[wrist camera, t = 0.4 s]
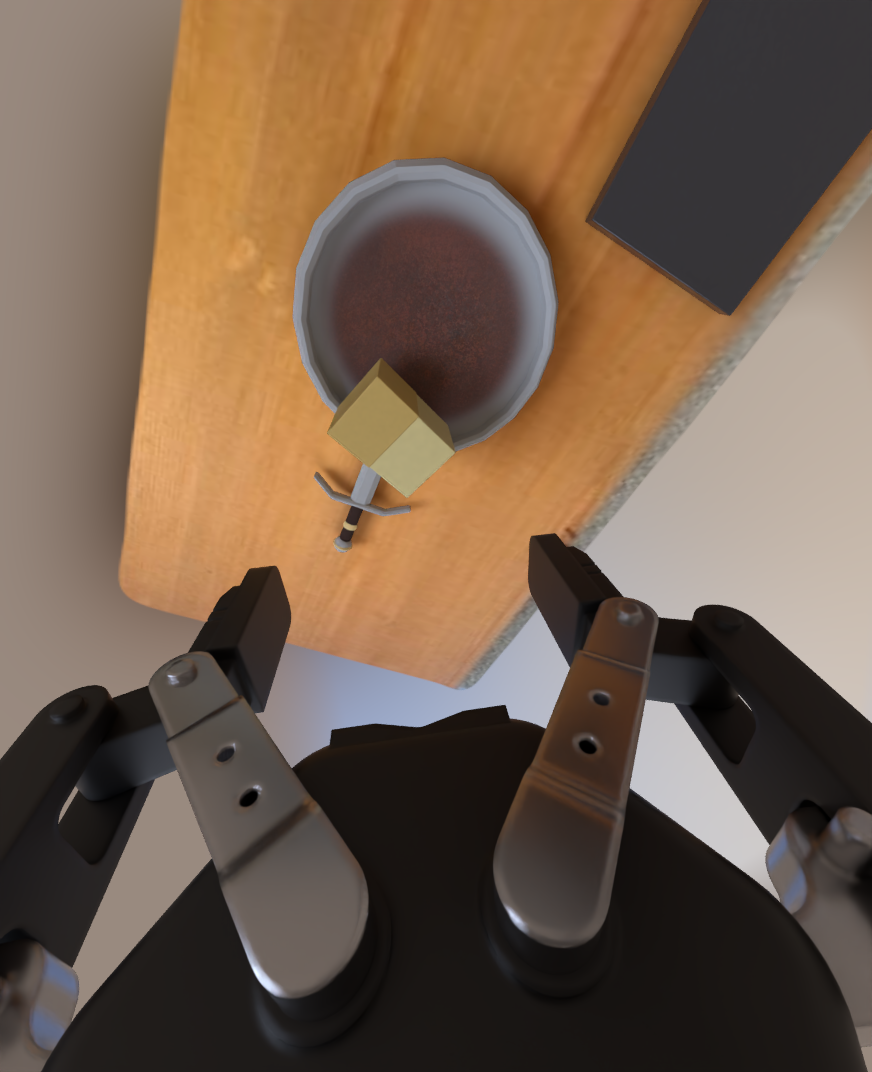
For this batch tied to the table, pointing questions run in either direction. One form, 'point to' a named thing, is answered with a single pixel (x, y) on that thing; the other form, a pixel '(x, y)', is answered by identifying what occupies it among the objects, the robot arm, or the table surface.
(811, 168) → the slate board
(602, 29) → the table surface
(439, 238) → the frying pan
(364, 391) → the butter
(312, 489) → the table surface
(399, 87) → the table surface
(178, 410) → the table surface
